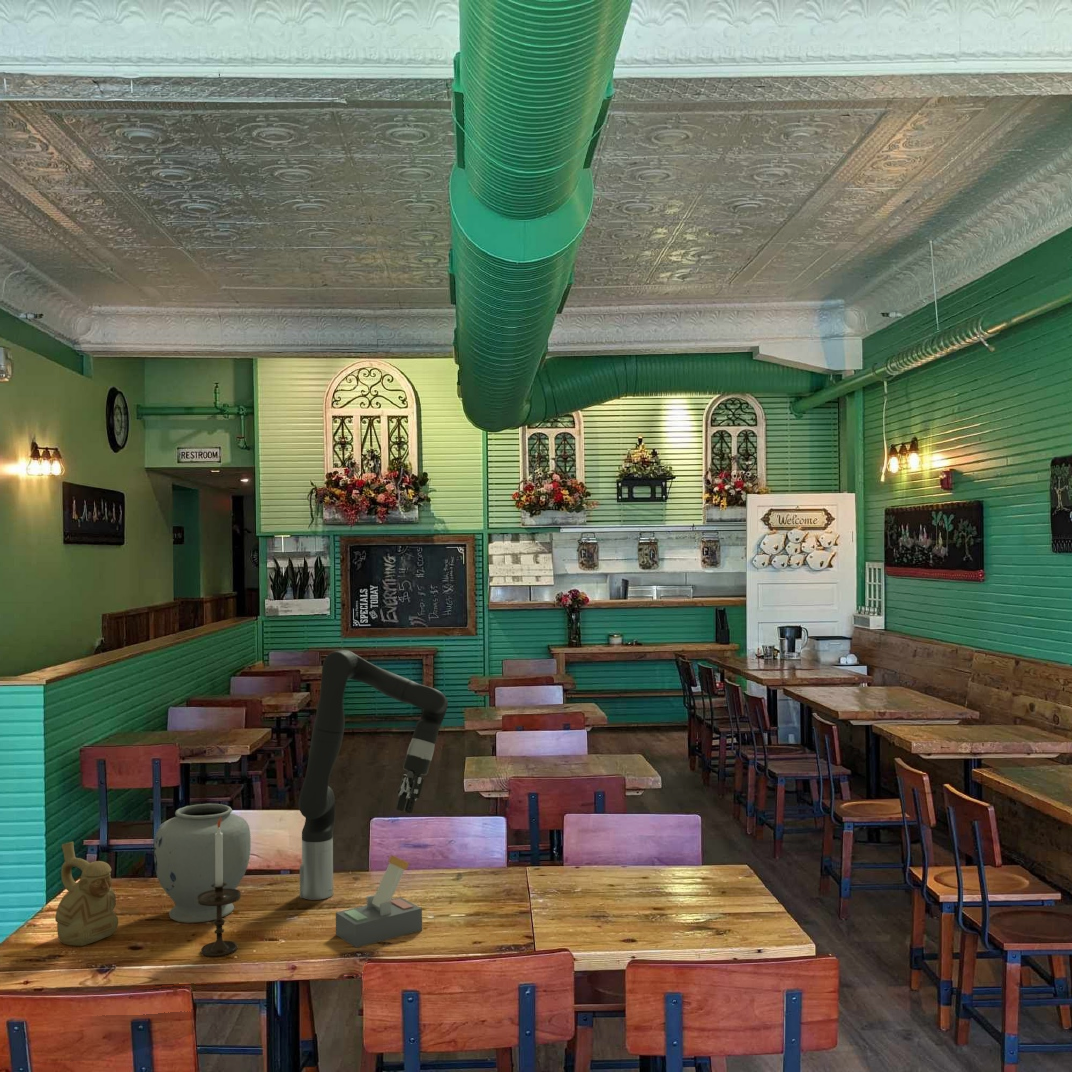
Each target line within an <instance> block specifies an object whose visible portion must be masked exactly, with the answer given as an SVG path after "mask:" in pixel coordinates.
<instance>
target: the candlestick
mask: <svg viewBox="0 0 1072 1072" xmlns="http://www.w3.org/2000/svg"><path fill="white" fill-rule="evenodd" d="M221 820H222V819H221V817H220V819H219V821H218V824H217V826H218V827H220V824H221ZM226 885H227V884H226V883H223V833H221V831H220V828H218V830H217V833H216V834H215V884H213V885H211V887H214V888H215V890H210V891H206V892H204V893H201V894H200V895H198V897H197V902H198V904H200V905H204V906H217V919H215V920H213V925H214V926H215V930H214V932H213V933H214V934H216V940H215V941H213V942H210V943H207V944H205V945H202V947H201V950H200V951H201V953H200V954H201V955H202V956H203V957H206V958H222V957H226V956H229V955H232V954H234V953H236V952H237V950H238V943H236V942H235V941H232V940H223V933H224V932H225V929H223V926H224V925H225V923H226V922H225V921H226V920H225V919H224V918H223V917H222V905H227V904H231V903H232V904H233V903H236V902H238V901H239V900H241V897H242V892H241V891H240V890H238V889H237V888H236V889H229V888H224V889H223V887H224V886H226Z"/></svg>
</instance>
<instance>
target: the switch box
mask: <svg viewBox="0 0 1072 1072" xmlns="http://www.w3.org/2000/svg"><path fill="white" fill-rule="evenodd" d="M374 896H375V894H371V895H367V896H366V905H362V906H357V907H353V908H348V909H344V910H341V911H337V912H335V935H336V936H337V937H339V939H341V940H343V941H345V942H346V943H348V944H349V945H350V946H352V947H354V948H356V949H357V948H361V947H364V946H367V945H372V944H375V943H379V942H383V941H388V940H390V939H395V938H399V937H403V936H407V935H410V934H414V933H418V932H422V931H423V908H422V907H420V906H418V905H416V904H415V903H412V902H411V901H409V900H407V899H405V898H403V897H401V896H400V897H396V898H395V897H394V898H392V899H391V901H390V902H386V903H382V904H380V910H379V909H377V908H375V907H374V906H372V901H373V898H374Z"/></svg>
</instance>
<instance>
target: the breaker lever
mask: <svg viewBox="0 0 1072 1072" xmlns="http://www.w3.org/2000/svg"><path fill="white" fill-rule="evenodd" d="M388 863H389V864H388V865H387V868H386V870H385V872H384V874H383V876H382V878H381V880H380V883H379V885H378V888H377V890H376V892H375V894H374V895H375V896H374V898H373V901H372V906H374V907H375V908H377V909H379V910H380V904H382V903H386V902H390V901H391V899H393V897H394V894H395V892H396V890H397V888H398V886H399V883H400V881H401V879H402V877H403V874H404V872H405V871H407V870H408V868H409V865H410V862H407V861H406V860H403V859H401V858H400V857H397V856H395V855H392V854H391V855H390V857H389V859H388Z"/></svg>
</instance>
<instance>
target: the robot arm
mask: <svg viewBox="0 0 1072 1072" xmlns="http://www.w3.org/2000/svg"><path fill="white" fill-rule="evenodd" d="M321 667H322V668H321V680H320V682H321V683H320V693H319V698H318V703H317V706H316V707H317V708H316V714H315V718H314V724H313V728H312V734H311V739H310V746H309V753H308V760H307V767H306V773H305V776H304V781H303V782H302V783H303V784H302V788H301V790H300V793H299V799H298V810H299V812H300V814H301V815H302V816H303V817H304V818H305V821H304V825H303V828H302V830H301V864H300V865H299V898H300V899H305V900H310V901H317V900H323V899H327V898H328V899H329V898H330V897H333V895H334V841H333V840H334V835H333V834H334V833H333V832H334V829H335V823H336V822H335V821H336V819H335V817H336V798H335V797H336V796H335V793H334V791H333V789H332V787H330V786H329V783H330V777H331V773H332V771H333V768H334V765H335V763H336V761H337V759H338V756H339V753H340V750H341V747H342V743H343V737H344V731H345V723H346V720H345V711H344V695H345V691H346V690H345V689H346V685H347V682H348V680H352V681H357V682H361V683H364V684H366V685H368V686H370V687H373V688H374V689H376V690H377V691H379V692H380V693H381V694H383V695H385V696H387V697H389V698H391V699H394V700H396V701H398V702H400V703H403V704H407V705H412V706H414V707H417V708H418V709H419V708H420V709H422V714H421V716H420V719H419V720H418V721H417V723H416V724H415V728H414V730H413V731H414V732H413V733H412V734H413V735H412V738H411V741H410V742H409V745H408V748H407V751H406V755H405V759H404V762H403V766H402V769H403V770H405V771H407V773H406V774H405V773H403V774H402V777H401V781H400V784H399V787H398V789H397V794H398V799H397V803H396V807H395V809H396V810H397V811H401V812H404V813H408V814H411V813H412V812H413V808H414V805H415V802H416V801H417V800H419V798H420V797H421V796H420V795H421V792H422V787H423V784H424V780H425V778H424V777H421V776H427V775H428V774H429V770H430V766H431V763H432V759H433V756H434V753H435V752H434V751H435V745H436V743H437V739H438V734H439V730H440V727H441V725H442V723H443V722H444V721H443V720H444V718H445V716H446V713H447V710H448V706H449V704H448V703H449V701H448V698H447V697H446V696H445V694H444V693H443V692H441V690H438V689H436V688H434V687H430V686H428V685H423V684H420V683H417V682H415V681H414V680H411V679H409V678H406V677H404V676H401V675H398V674H396V673H394V672H390V671H389V670H386V669H384V668H381V667H379V666H377V665H375V664H373V663H371V662H369V661H367V660H366V659H364V658H363V657H361V656H359V655H357V654H356V653H354V652H353V651H351V650H348V649H339V650H334V651H331V652H330V653H328V654H327V655H326V657H325V658H324V659H323V662H322V665H321Z"/></svg>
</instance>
